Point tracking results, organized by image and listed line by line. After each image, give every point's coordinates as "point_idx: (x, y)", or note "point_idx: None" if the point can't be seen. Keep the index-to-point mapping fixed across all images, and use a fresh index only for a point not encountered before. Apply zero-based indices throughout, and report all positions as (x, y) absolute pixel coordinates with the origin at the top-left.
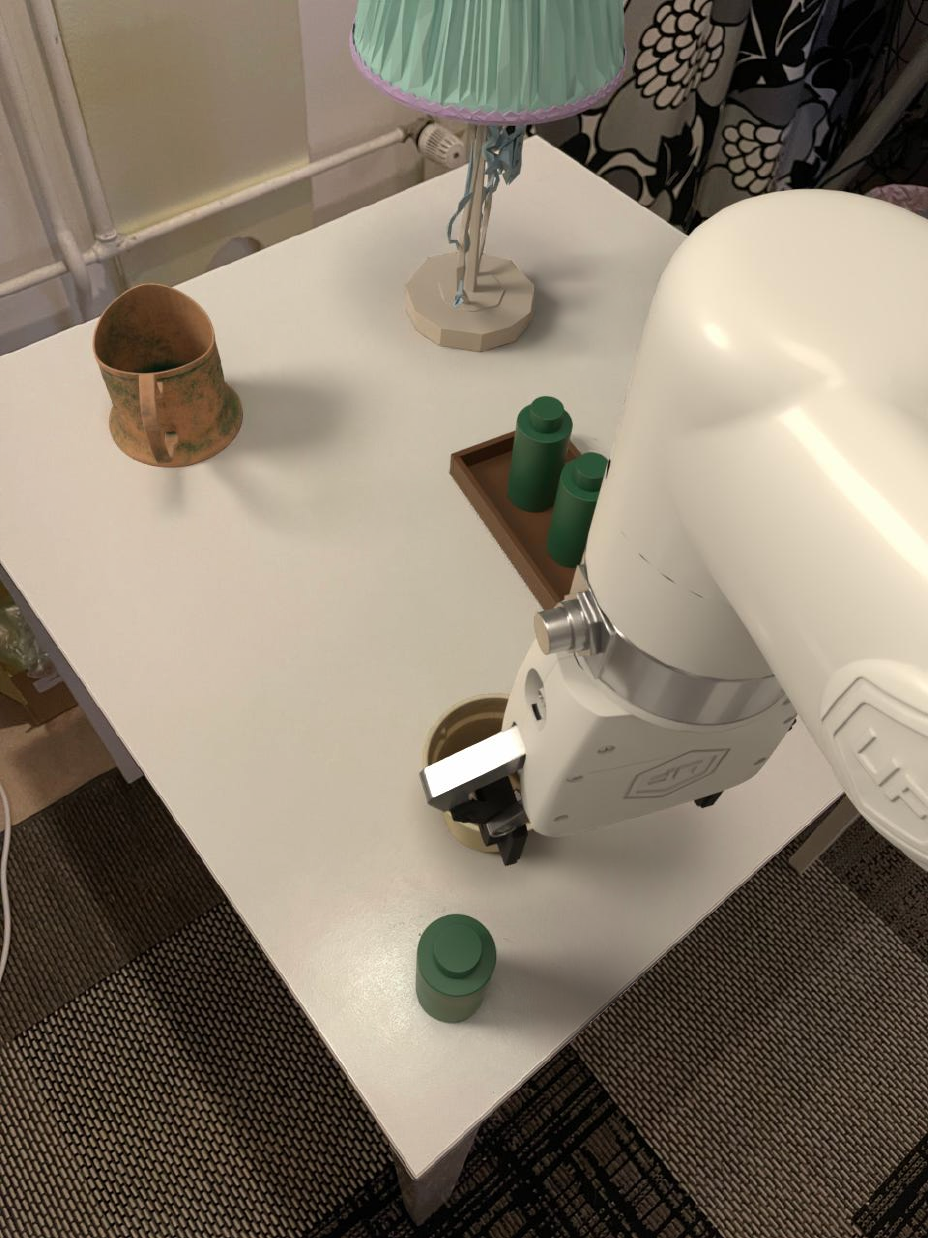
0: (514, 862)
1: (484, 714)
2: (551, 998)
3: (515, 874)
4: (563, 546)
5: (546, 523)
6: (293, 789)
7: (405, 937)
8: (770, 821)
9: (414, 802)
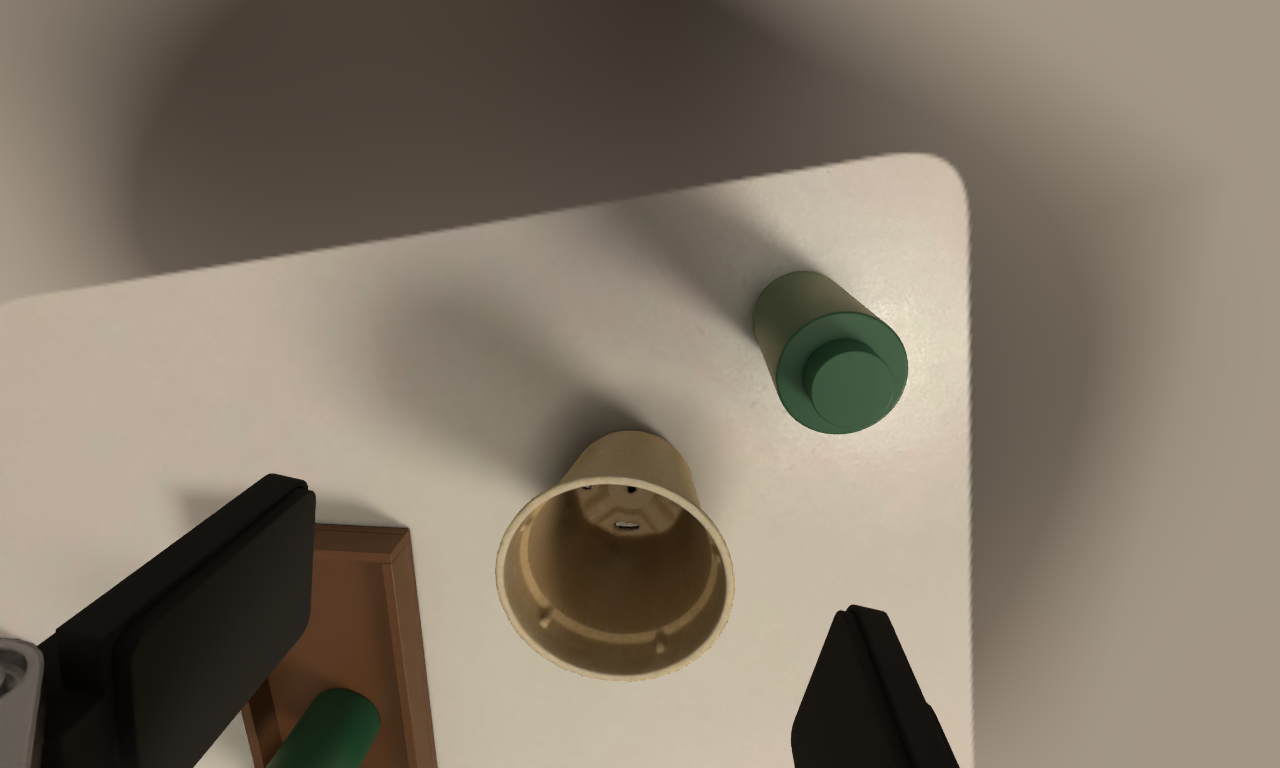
0: (866, 617)
1: (588, 634)
2: (690, 235)
3: (644, 396)
4: (354, 739)
5: None
6: None
7: None
8: (278, 283)
9: None
